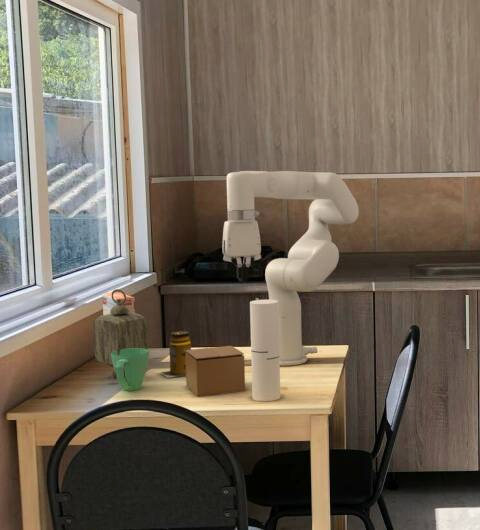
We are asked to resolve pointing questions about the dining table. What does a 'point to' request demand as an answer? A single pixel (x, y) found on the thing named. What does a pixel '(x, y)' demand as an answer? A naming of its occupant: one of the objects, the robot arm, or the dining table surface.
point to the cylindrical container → (265, 350)
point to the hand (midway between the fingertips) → (242, 280)
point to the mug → (130, 367)
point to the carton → (214, 372)
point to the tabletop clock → (118, 332)
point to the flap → (226, 351)
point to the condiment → (178, 354)
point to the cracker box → (109, 303)
